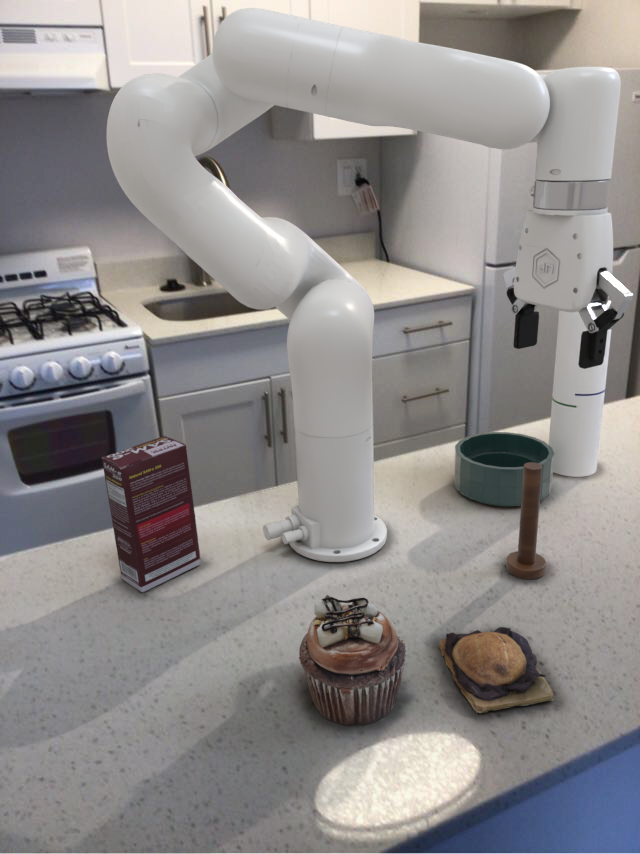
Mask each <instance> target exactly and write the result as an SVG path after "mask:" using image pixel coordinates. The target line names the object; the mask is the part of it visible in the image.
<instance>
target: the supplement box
mask: <svg viewBox="0 0 640 854" xmlns="http://www.w3.org/2000/svg"><path fill="white" fill-rule="evenodd" d="M187 450H188V449H187V445H186V443H183V442H181V441H179V440H176V439H175V438H171V437H169V436H166V435H163V436H159V437H157V438H153V439H151V440H147V441H145V442H142V443H140V444H137V445H134V446H130V447H127V448H125V449H122V450H119V451H117V452H114V453H110V454H108V455H104V456H102V457H101V461H102V468H103V474H104V479H105V486H106V492H107V499H108V505H109V510H110V516H111V522H112V528H113V535H114V541H115V548H116V554H117V558H118V559H117V560H118V567H119V571H120V577H121V580H123V581H124V582H126V583H127V584H128V585H130V586H131V587H133V588H134V589H136V590H137V591H139V592H140V593H145V592H147V591H149V590H151V589H153V588H155V587H157V586H159V585H161V584H163V583H165V582H167V581H170V580H171V579H173V578H175V577H177V576H179V575H181V574H183V573H185V572H187V571H189V570H191V569H193V568H197V567H198V566H200V565H201V563H202V561H201V553H200V545H199V537H198V527H197V521H196V512H195V505H194V497H193V489H192V482H191V473H190V466H189V457H188V451H187Z"/></svg>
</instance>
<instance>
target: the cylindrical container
mask: <svg viewBox="0 0 640 854" xmlns="http://www.w3.org/2000/svg"><path fill="white" fill-rule="evenodd" d="M610 304H611V300H609V299H608V302H607V304H606V305H605V306H606V308H607V309H608V308H609V307H610ZM593 313H594V315H595V317H596V318H597V316H596V314H595V312H594V311H593ZM557 322H558V323H557V332H556V333H557V334H556V346H555V357H554V371H553V385H552V395H551V409H550V420H549V421H550V422H549V434H548V445H549V446H551V447H552V449H553V452H554V463H553V474H554V473H555V474H557V475H559V476H560V475H561V476H564V477H571V478H572V477H573V478H583V477H589V476H592V475H594V474H595V473H596V472H597V469H598V460H599V459H598V458H599V450H600V440H601V431H602V423H603V412H604V405H605V404H604V403H605V393H606V385H607V376H608V365H609V356H610V347H611V338H612V329H610V330H607V339H606V347H605V355H604V361H603V363H602V365H599V366H595V367H590V368H586V369H583V368H580V367H579V365H578V363H579V354H580V344H581V335H582V332H583V331H588V330H587V328H586V326H585V324H584V322H583V320H582V318H581V316H580V314H579V312H565V311H560V310H558V320H557Z"/></svg>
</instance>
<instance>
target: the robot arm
mask: <svg viewBox="0 0 640 854" xmlns="http://www.w3.org/2000/svg"><path fill="white" fill-rule="evenodd" d="M211 50H212V52H211V53H210V54H209V55H207V56H206V57H205V58H204V59H202V60H201V61H199V62H197V63H195V65H193V66H191V67H190V68H189V69H187V70H186V71H184V72H183V73H182V74H180V75H179V76H175V75H171V74H166V73H157V72H153V73H146V74H142V75H139V76H136V77H134V78H131V79H130V80H129V81H127V82H126V83H125V84H124V85H122V86H121V87H120V89H119V90H118V92H117V93H116V95H114V98H113V100H112V103H111V105H110V107H109V112H108V116H107V122H106V148H107V155H108V159H109V163H110V166H111V169H112V172H113V174H114V176H115V179H116V181H117V182H118V184H119V186H120V188H121V189H122V192H123V193H124V194H125V196H126V197H127V198H128V199H129V201H130V202H131V203H132V204H133V205H134V207H135V208H136V209H137V210H138V211H139V213H141V214H142V215H143V216H144V217H145V218H146V219H147V220H148V221H149V222H150V223H151V224H153V225H154V226H155V227H156V228H157V229H158V230H159V231H160V232H162V233H163V234H164V235H165V236H166V237H167V238H168V239H169V240H171V242H173V243H174V244H175V245H176V246H177V247H179V249H181V251H182V252H183V253H185V254H186V256H188V257H189V258H190V260H192V261H193V262H194V263H195V264H196V265H197V266H199V267H200V268H201V269H202V270H203V271H204V272H205V273H207V274H208V275H209V276H210V277H211V278H212V279H213V280H214V281H216V283H218V285H220V286H221V287H222V288H223V289H224V290H225V291H227V292H228V293H229V295H231V296H232V297H233V298H234V299H235V301H238V302H239V303H240V304H242V305H244V306H245V307H247V308H250V309H254V310H260V311H261V310H270V309H274V308H275V309H277V311H279V312H280V313H281V314H282V315H284V316H285V317H286V318H287V319H288V320H289V323H288V324H289V325H288V329H287V334H286V335H287V336H286V354H287V355H286V356H287V364H288V372H289V377H290V387H291V395H292V396H291V397H292V411H293V413H292V414H293V428H294V445H295V463H296V464H295V465H296V479H297V480H296V482H297V483H296V484H297V501H298V502H297V503H298V504H297V505H292V506H291V507H290V510H291V511H290V513H291V515H287V516H285V519H283V520H280V521H274V522H269V523H267V524H264V525H263V526H262V532H263V535H264V537H265V539H266V540H267V541H271V540H274V539H279V538H281V541H282V543H283V544H284V545H287V544H288V545H289V546H290V547H291V548H292V550H294V551H295V552H296V553H297V554H299V555H301V556H303V557H305V558H308V559H310V560H315V561H319V562H327V563H346V562H347V563H348V562H352V561H353V562H354V561H358V560H361V559H364V558H367V557H370V556H371V555H373V554H375V553H377V552H378V551H380V550H381V549H382V548H383V547H384V545H385V544H386V542H387V539H388V529H387V526H386V523H385V522H384V520H382V519H381V518H380V517H379V516H377V515H376V514H375V467H374V466H375V465H374V464H375V463H374V462H375V458H374V456H375V454H374V453H375V451H374V392H373V391H374V390H373V387H374V386H373V384H374V383H373V348H374V347H373V341H374V338H373V337H374V329H375V308H374V303H373V301H372V298H371V296H370V294H369V292H368V291H367V290H366V289H365V287H363V285H362V284H361V283H360V282H359V281H358V280H356V278H355V277H354V276H353V275H352V274H350V272H348V271H347V270H346V269H345V268H344V267H343V266H342V265H341V264H340V263H339V262H337V260H335V259H334V258H333V256H331V255H330V254H328V252H326V250H324V249H323V248H322V247H321V246H320V245H319V244H318V243H316V242H315V240H314V239H312V238H311V237H310V236H309V235H308V234H307V233H306V232H305V231H303V230H302V229H300V228H299V227H298V226H296V224H294V223H292V222H290V221H288V220H286V219H284V218H280V217H276V216H263V217H262V216H260V215H259V214H258V213H256V212H255V211H254V210H253V209H252V208H251V207H249V206H248V205H247V204H246V203H245V202H244V201H243V200H241V199H240V198H239V197H238V196H237V195H236V194H235V193H234V192H233V190H232V189H230V188H229V187H228V186H227V185H226V184H225V183H223V182H222V181H221V179H219V178H218V177H216V176H214V175H213V174H212V173H211V172H209V171H208V169H206V168H205V167H204V166H203V165H202V164H201V163H200V162H199V160H198V159H197V158H196V157H197V156H200V155H202V154H204V153H206V152H207V151H210V150H212V149H213V148H215V147H216V146H217V145H219V144H221V143H222V142H223V141H225V140H226V139H228V138H229V137H231V136H232V135H233V134H235V133H236V132H238V131H239V130H241V129H242V128H244V127H245V126H247V125H248V124H250V123H252V122H253V121H254V120H256V119H257V118H259V117H261V116H262V115H263V114H265V113H266V112H267V111H269V110H270V109H271V108H273V107H274V106H278V107H281V108H286V109H291V110H295V111H300V112H305V113H310V114H315V115H318V116H324V117H328V118H332V119H337V120H342V121H345V122H349V123H353V124H354V123H355V124H360V125H364V126H369V127H391V128H401V129H406V130H412V131H417V132H422V133H426V134H431V135H437V136H441V137H445V138H449V139H455V140H460V141H463V142H467V143H472V144H477V145H481V146H484V147H487V148H490V149H491V148H492V149H498V150H512V149H517V148H520V147H522V146H524V145H526V144H530V143H536V144H537V146H536V159H535V173H534V179H535V180H534V184H533V185H532V186H531V187H530V190H529V193H530V196H531V197H532V198H533V200H532V201H533V202H532V209H529V210H527V212H526V214H525V217H524V221H523V225H522V228H521V232H520V237H519V241H518V242H519V243H518V247H517V254H516V261H515V265H514V266H512V267H511V268H508V269H506V270H504V271H503V273H502V279H503V281H504V285H505V289H507V290H506V297H507V299H508V301H509V302H510V304H511V308H510V309H511V312H512V314H513V315H515V316H514V317H515V318H514V329H513V330H514V333H513V345H512V346H513V348H514V349H517V350H520V349H526V348H529V347H534V346H535V347H536V345H537V344H538V335H539V324H540V323H539V322H540V312H539V311H537V310H536V309H537V308H538V307H542V308H547V309H552V310H556V311H559V310H560V311H565V312H579V314H580V316H581V318H582V320H583V322H584V324H585V326H586V328H587V330H588V331H583V332H582V335H581V344H580V354H579V363H578V365H579V367H580V368H583V369H586V368H590V367H595V366H599V365H602V363H603V361H604V355H605V347H606V339H607V330H610V329H611V330H612V329H613V328H614V326H615V324H617V323H618V322H619V321H620V320H621V319H623V317H624V316H625V312H626V311H627V309H628V308H629V306H630V304H631V303H632V301H633V300H634V294H633V292H632V291H631V290H630V289H628V288H627V287H626V286H625V285H624V284H623V283H621V282H620V281H619V280H618V279H617V278H615V277H614V276H613V269H614V268H613V267H614V229H613V219H612V212H608V210H609V200H610V191H611V181H612V180H611V179H612V175H613V174H612V173H613V163H614V153H615V145H616V136H617V125H618V117H619V110H620V109H619V108H620V98H621V89H622V81H621V76H620V74H619V72H618V71H617V70H616V69H614V68H612V67H608V66H577V67H576V66H573V67H564V68H560V69H556V70H553V71H551V72H549V73H538V72H537V71H536V70H535V69H533V68H532V67H530V66H528V65H525V64H523V63H520V62H518V61H517V62H516V61H513V60H509V59H505V58H499V57H494V56H490V55H485V54H482V53H481V54H480V53H476V52H471V51H467V50H461V49H456V48H453V47H446V46H442V45H436V44H431V43H425V42H419V41H414V40H408V39H405V38H400V37H398V36H393V35H389V34H384V33H377V32H372V31H369V30H362V29H357V28H353V27H348V26H345V25H338V24H335V23H329V22H324V21H320V20H316V19H312V18H311V19H310V18H306V17H303V16H298V15H293V14H288V13H283V12H279V11H275V10H274V11H273V10H270V9H264V8H256V7H247V8H241V9H237V10H235V11H233V12H231V13H230V14H228V15H226V17H225V18H223V20H222V21H221V23H220V24H219V25H218V27H217V29H216V32H215V34H214V37H213V41H212V49H211ZM609 299H611V300H610V301H611V304H610V307H609V308H608V309H607V308H606V306H605V305H606V304H607V302H608V300H609ZM593 311H594V312H595V314H596V316H597V318H596V317H595V315H594V313H593Z"/></svg>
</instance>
